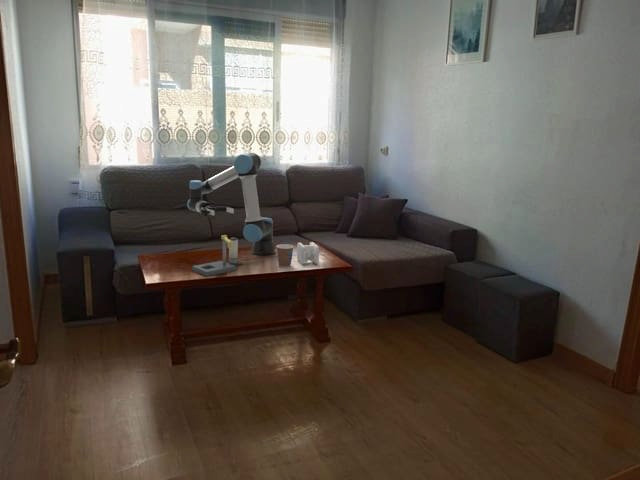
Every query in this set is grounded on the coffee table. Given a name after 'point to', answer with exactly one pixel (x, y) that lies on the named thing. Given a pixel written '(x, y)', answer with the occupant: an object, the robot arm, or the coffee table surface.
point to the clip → (224, 237)
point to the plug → (233, 251)
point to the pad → (236, 264)
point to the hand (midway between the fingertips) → (223, 212)
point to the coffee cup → (284, 254)
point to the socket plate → (215, 266)
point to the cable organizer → (308, 253)
